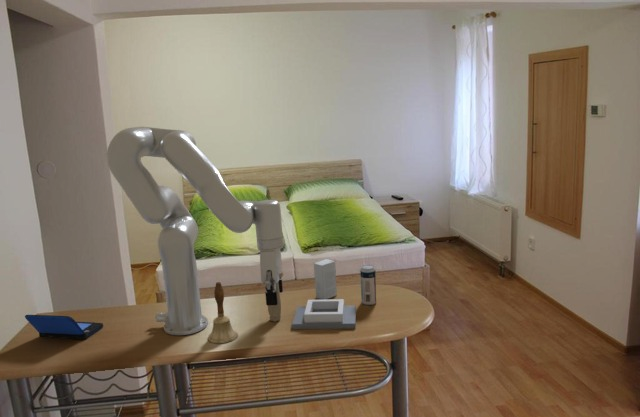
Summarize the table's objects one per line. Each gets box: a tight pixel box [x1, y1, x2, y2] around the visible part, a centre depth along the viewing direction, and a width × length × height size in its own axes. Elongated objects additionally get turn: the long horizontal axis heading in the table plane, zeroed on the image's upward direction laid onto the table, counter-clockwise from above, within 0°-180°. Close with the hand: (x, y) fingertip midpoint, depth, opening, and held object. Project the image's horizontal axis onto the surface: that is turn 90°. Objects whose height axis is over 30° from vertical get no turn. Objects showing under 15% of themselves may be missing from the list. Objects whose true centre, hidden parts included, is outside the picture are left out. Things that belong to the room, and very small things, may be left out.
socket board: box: [291, 298, 357, 330], centre depth 151 cm, size 18×13×4 cm
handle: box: [267, 269, 284, 323], centre depth 151 cm, size 5×6×15 cm
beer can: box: [359, 264, 377, 306], centre depth 161 cm, size 5×5×12 cm
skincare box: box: [313, 258, 338, 300], centre depth 168 cm, size 6×4×12 cm
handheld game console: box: [24, 314, 104, 341], centre depth 149 cm, size 16×13×9 cm
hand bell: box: [207, 281, 239, 344], centre depth 142 cm, size 8×8×16 cm
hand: (274, 298), depth 151 cm, fingers open, 9 cm apart
